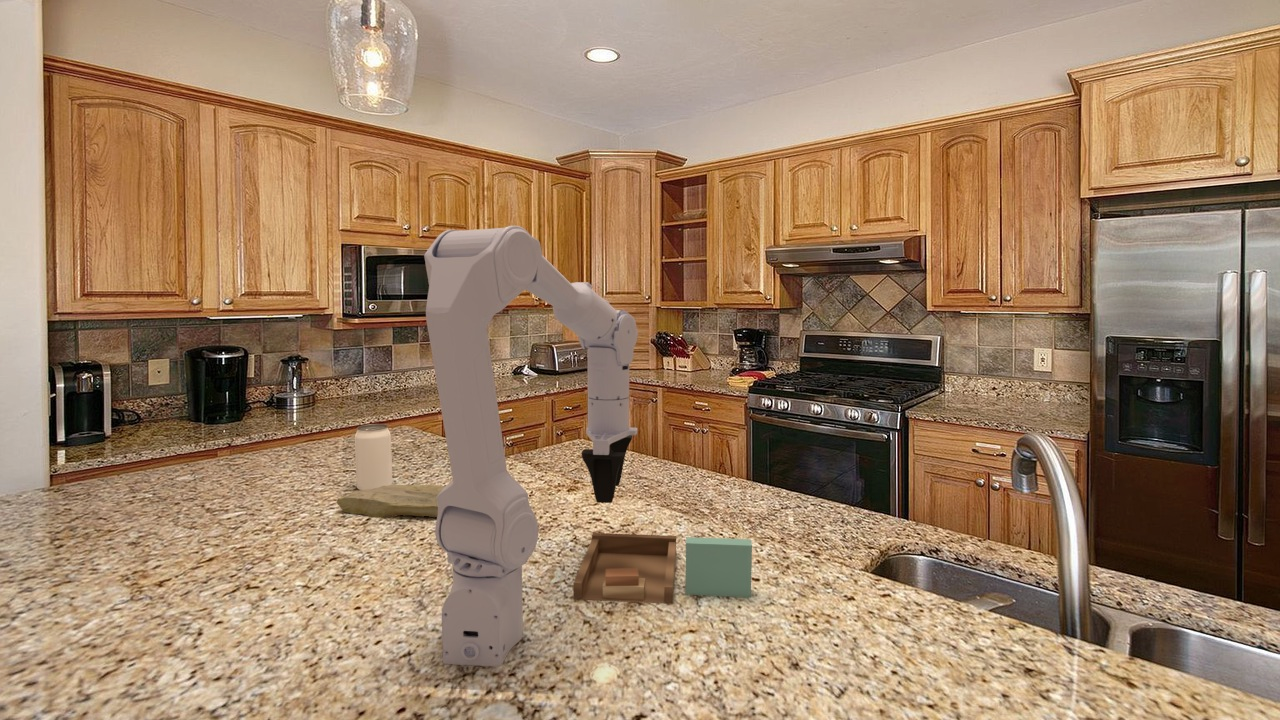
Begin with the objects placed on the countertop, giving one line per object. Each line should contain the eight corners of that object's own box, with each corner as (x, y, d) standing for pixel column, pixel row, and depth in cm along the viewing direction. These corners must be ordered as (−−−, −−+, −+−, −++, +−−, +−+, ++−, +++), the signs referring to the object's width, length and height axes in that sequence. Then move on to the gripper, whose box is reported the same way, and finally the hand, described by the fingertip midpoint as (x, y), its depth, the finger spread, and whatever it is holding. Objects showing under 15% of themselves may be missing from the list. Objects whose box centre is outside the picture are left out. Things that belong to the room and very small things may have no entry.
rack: (672, 609, 76) (672, 583, 75) (573, 605, 77) (573, 579, 76) (676, 558, 90) (676, 536, 90) (593, 555, 91) (593, 532, 91)
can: (356, 484, 125) (353, 425, 124) (391, 480, 127) (389, 422, 126) (356, 494, 119) (354, 431, 118) (393, 489, 122) (391, 428, 120)
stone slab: (369, 479, 119) (524, 479, 116) (370, 501, 119) (525, 501, 116) (330, 499, 107) (502, 500, 103) (331, 523, 107) (503, 525, 104)
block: (750, 600, 77) (752, 545, 76) (685, 598, 78) (685, 543, 77) (749, 593, 79) (750, 539, 78) (685, 590, 80) (686, 537, 79)
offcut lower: (643, 600, 76) (643, 587, 76) (602, 598, 77) (602, 585, 76) (645, 590, 79) (645, 578, 79) (605, 588, 79) (605, 576, 79)
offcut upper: (638, 585, 77) (638, 576, 76) (605, 586, 76) (605, 576, 76) (637, 577, 79) (637, 568, 79) (605, 578, 79) (605, 568, 78)
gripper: (632, 406, 79) (631, 511, 81) (641, 389, 94) (641, 479, 95) (576, 405, 80) (577, 509, 81) (594, 388, 94) (594, 477, 96)
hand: (608, 493), depth 88 cm, fingers open, 7 cm apart
